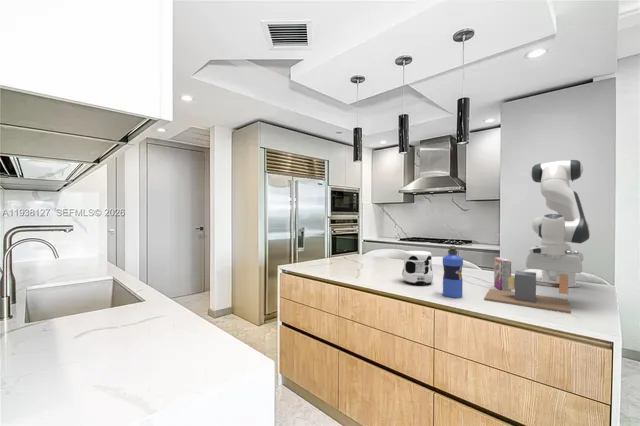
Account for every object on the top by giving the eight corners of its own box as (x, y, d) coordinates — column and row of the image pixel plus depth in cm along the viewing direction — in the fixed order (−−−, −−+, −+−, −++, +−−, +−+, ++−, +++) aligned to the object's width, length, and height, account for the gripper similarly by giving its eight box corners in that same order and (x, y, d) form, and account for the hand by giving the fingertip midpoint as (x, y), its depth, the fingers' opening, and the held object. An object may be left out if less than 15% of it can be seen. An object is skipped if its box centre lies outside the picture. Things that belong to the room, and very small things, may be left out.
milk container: (415, 277, 191) (415, 249, 191) (439, 283, 177) (439, 252, 176) (396, 281, 182) (396, 251, 182) (419, 288, 167) (419, 255, 167)
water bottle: (439, 295, 152) (439, 246, 152) (446, 291, 159) (446, 244, 159) (459, 299, 146) (459, 247, 146) (465, 295, 153) (465, 245, 153)
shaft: (503, 284, 151) (503, 268, 151) (567, 292, 136) (567, 274, 136) (502, 286, 147) (503, 269, 147) (567, 294, 133) (568, 276, 133)
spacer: (509, 286, 150) (509, 275, 150) (515, 287, 149) (515, 275, 148) (508, 288, 146) (508, 277, 145) (514, 289, 144) (514, 277, 144)
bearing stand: (489, 290, 161) (490, 266, 161) (567, 301, 143) (567, 273, 142) (484, 300, 145) (484, 272, 145) (570, 313, 126) (571, 282, 126)
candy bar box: (493, 286, 170) (493, 257, 170) (503, 286, 169) (503, 257, 169) (501, 291, 159) (501, 260, 159) (511, 292, 158) (511, 261, 158)
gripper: (582, 251, 134) (582, 282, 134) (526, 247, 146) (526, 276, 146) (584, 252, 129) (583, 285, 129) (525, 249, 141) (525, 278, 141)
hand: (552, 280), depth 138 cm, fingers closed
